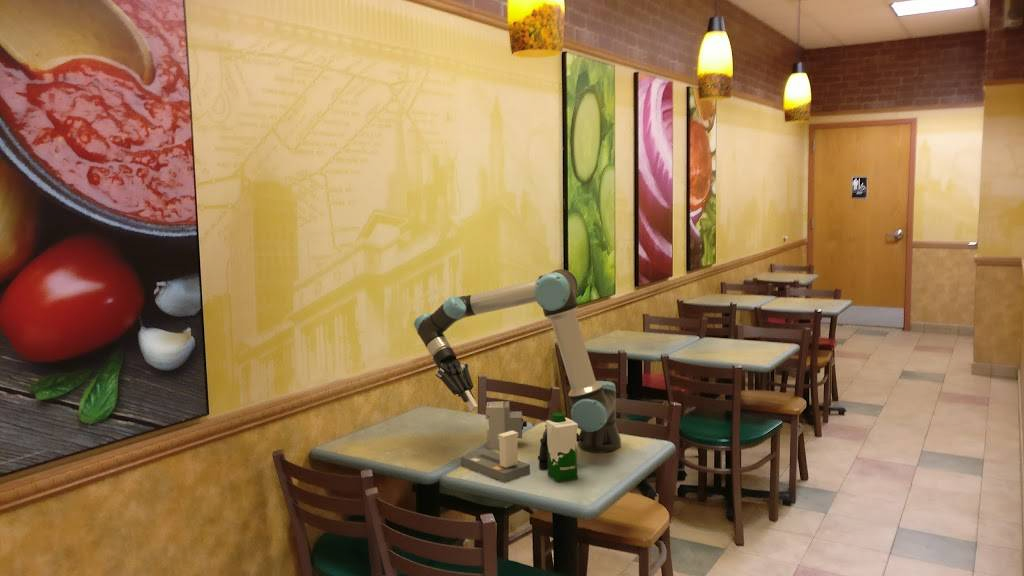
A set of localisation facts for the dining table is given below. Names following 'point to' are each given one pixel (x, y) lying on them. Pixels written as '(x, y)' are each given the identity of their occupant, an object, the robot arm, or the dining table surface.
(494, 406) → the circuit breaker
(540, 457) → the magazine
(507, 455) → the cream rectangular box
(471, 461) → the switch panel
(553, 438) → the milk carton
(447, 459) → the dining table surface
